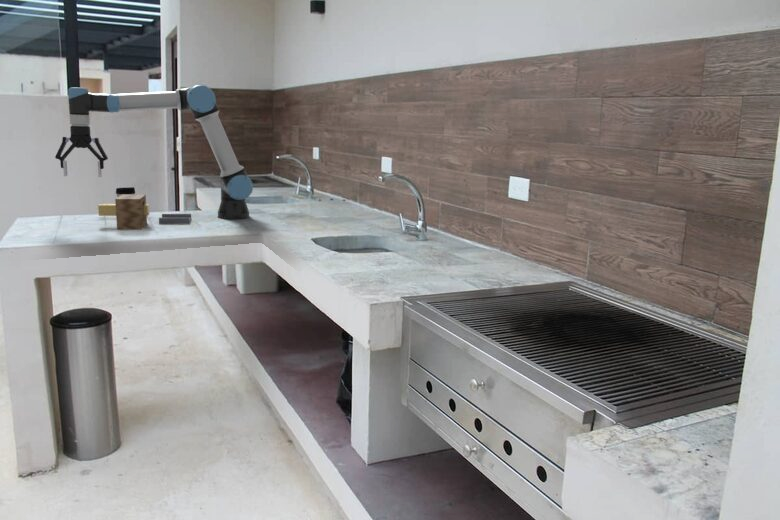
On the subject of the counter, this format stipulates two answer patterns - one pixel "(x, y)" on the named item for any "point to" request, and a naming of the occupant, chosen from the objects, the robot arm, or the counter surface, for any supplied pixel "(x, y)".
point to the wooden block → (130, 211)
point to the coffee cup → (125, 191)
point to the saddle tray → (175, 219)
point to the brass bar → (111, 209)
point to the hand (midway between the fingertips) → (83, 176)
